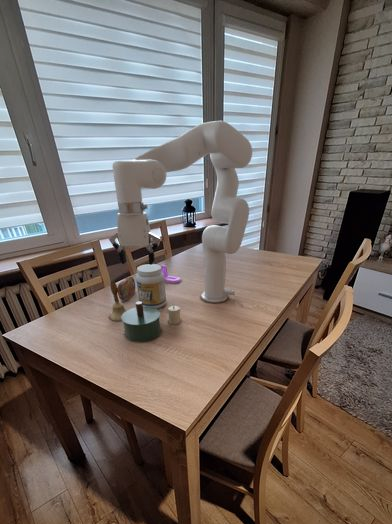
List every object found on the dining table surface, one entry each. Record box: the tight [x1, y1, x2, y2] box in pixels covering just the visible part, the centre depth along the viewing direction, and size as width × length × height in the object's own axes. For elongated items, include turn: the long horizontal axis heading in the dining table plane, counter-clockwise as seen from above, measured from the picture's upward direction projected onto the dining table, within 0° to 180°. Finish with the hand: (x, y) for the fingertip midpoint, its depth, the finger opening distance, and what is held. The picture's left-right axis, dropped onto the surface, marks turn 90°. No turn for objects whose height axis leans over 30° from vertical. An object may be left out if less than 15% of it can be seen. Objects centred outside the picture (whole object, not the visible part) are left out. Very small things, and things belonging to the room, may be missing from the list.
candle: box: [167, 305, 181, 325], centre depth 110 cm, size 5×5×7 cm
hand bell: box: [109, 279, 127, 322], centre depth 112 cm, size 8×8×16 cm
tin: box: [117, 276, 136, 302], centre depth 131 cm, size 15×3×8 cm, turn 168°
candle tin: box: [122, 318, 162, 343], centre depth 103 cm, size 13×13×7 cm
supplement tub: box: [135, 263, 167, 310], centre depth 121 cm, size 12×12×17 cm
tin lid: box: [121, 300, 161, 326], centre depth 100 cm, size 14×14×6 cm
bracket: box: [160, 264, 181, 284], centre depth 148 cm, size 13×6×7 cm, turn 62°
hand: (137, 263), depth 95 cm, fingers open, 9 cm apart
